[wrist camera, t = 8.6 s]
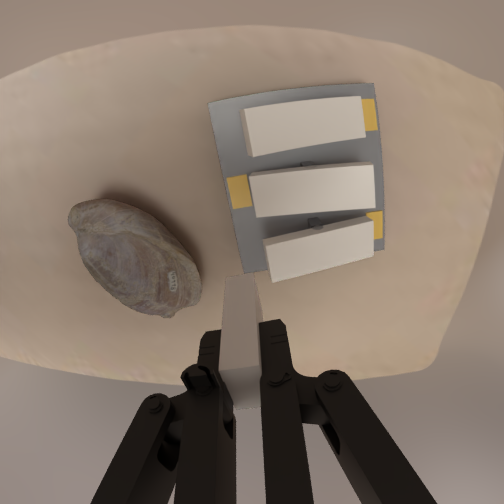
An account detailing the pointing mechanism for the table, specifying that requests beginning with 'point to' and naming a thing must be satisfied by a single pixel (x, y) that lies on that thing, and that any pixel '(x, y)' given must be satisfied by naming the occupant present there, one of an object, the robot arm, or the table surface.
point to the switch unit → (241, 166)
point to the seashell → (135, 257)
